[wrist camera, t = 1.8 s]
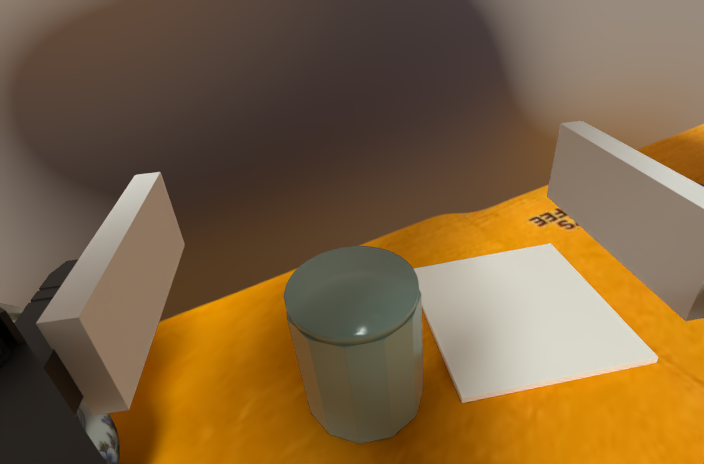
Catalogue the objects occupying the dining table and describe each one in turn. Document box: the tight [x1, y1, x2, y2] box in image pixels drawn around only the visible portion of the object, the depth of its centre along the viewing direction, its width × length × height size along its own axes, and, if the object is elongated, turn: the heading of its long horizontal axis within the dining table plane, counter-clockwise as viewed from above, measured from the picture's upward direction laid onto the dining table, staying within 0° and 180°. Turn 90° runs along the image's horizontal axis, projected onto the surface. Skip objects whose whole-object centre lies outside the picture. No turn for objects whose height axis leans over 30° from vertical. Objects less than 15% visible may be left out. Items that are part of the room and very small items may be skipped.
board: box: [414, 243, 659, 403], centre depth 41 cm, size 16×16×1 cm
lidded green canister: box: [284, 246, 423, 444], centre depth 33 cm, size 9×9×11 cm
